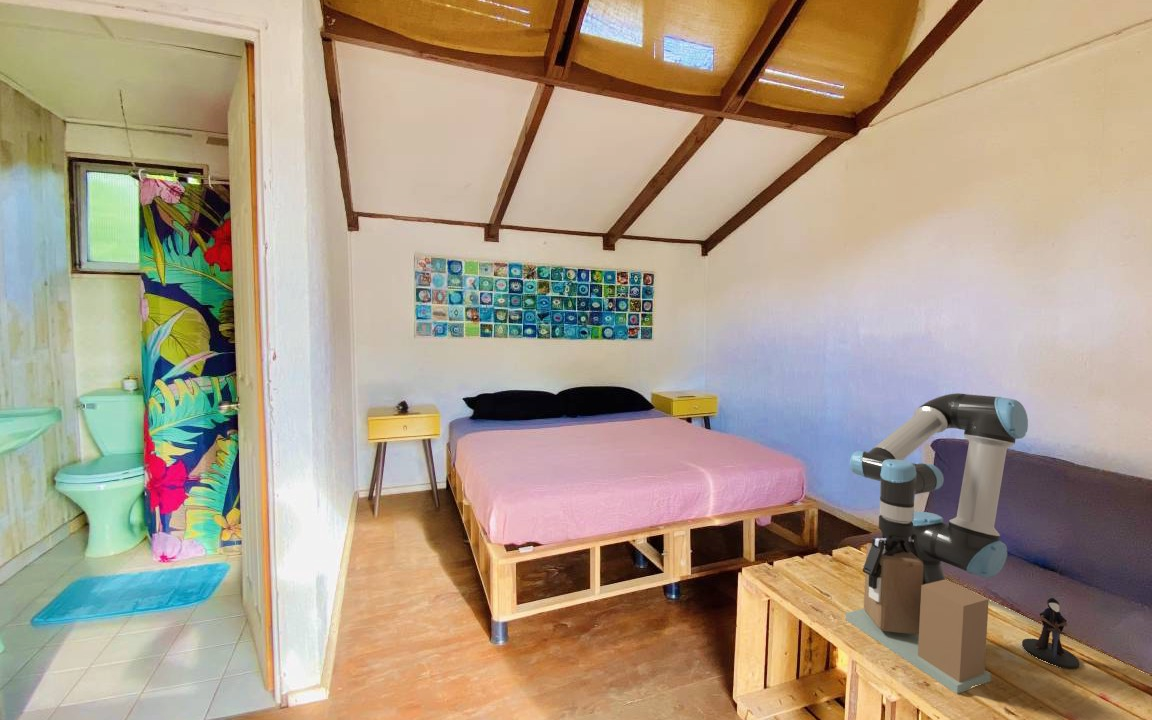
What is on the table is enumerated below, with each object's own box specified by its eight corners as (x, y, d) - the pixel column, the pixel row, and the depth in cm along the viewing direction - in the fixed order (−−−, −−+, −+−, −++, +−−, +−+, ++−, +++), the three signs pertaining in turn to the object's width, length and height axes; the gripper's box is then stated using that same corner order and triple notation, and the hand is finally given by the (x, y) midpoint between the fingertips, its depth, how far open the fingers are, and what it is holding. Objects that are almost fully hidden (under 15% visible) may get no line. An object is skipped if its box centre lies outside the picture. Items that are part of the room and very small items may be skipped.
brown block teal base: (875, 612, 131) (878, 545, 130) (990, 681, 104) (995, 599, 103) (845, 619, 127) (848, 551, 126) (956, 694, 100) (961, 608, 99)
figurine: (1027, 658, 112) (1031, 600, 112) (1017, 636, 121) (1021, 583, 120) (1086, 675, 107) (1090, 615, 106) (1071, 652, 115) (1075, 596, 114)
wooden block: (921, 637, 115) (925, 562, 114) (879, 632, 116) (882, 558, 116) (900, 613, 125) (904, 544, 124) (862, 609, 126) (865, 541, 125)
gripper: (913, 508, 127) (909, 580, 128) (849, 518, 119) (845, 595, 120) (942, 518, 120) (937, 594, 121) (876, 529, 112) (872, 611, 112)
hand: (892, 594), depth 120 cm, fingers closed on wooden block, 13 cm apart
